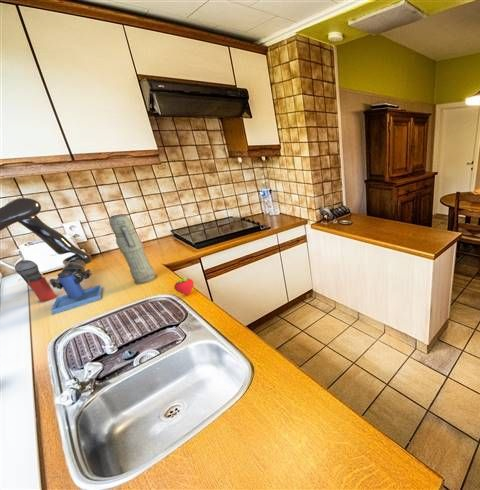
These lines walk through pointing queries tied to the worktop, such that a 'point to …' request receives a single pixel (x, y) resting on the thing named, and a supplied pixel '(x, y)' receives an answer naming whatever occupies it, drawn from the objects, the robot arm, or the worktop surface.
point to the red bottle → (41, 288)
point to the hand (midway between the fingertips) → (68, 284)
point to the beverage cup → (26, 269)
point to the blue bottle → (70, 284)
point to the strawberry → (184, 286)
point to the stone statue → (131, 249)
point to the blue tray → (77, 299)
